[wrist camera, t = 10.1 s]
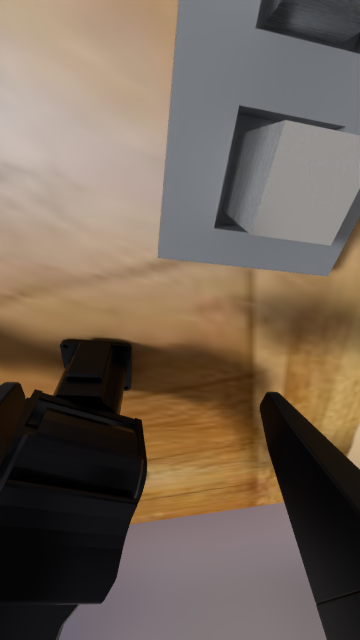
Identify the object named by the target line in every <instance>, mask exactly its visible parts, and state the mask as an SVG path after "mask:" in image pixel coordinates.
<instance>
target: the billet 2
mask: <svg viewBox="0 0 360 640" xmlns="http://www.w3.org/2000/svg"><path fill="white" fill-rule="evenodd" d="M359 189H360V135H355V134H351V133H346V132H341V131H336V130H331V129H327V128H322V127H317V126H312V125H307V124H303V123H298V122H293V121H288V120H284V121H281V122H277V123H274V124H271V125H268V126H264V127H261V128H258V129H255V130H251V131H248V132H245V133H242V134H240V135H239V139H238V144H237V148H236V153H235V157H234V162H233V166H232V170H231V175H230V179H229V184H228V188H227V193H226V197H225V202H224V206H223V211H224V212H225V213H226V214H227V215H228V216H230V217H231V218H232V219H233V220H234V221H235V222H237V223H238V224H239V225H240V226H241V227H242V228H243V229H245V230H246V231H247V232H248V233H249V234H250V235H255V236H263V237H270V238H278V239H285V240H292V241H300V242H307V243H315V244H322V245H329V246H331V244H332V242H333V240H334V238H335V236H336V234H337V232H338V230H339V228H340V227H341V225H342V223H343V221H344V219H345V217H346V215H347V213H348V211H349V209H350V207H351V205H352V203H353V201H354V199H355V197H356V195H357V193H358V191H359Z"/></svg>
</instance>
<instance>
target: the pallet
mask: <svg viewBox="0 0 360 640" xmlns="http://www.w3.org/2000/svg"><path fill="white" fill-rule="evenodd" d="M267 5H268V0H179V3H178V15H177V27H176V39H175V51H174V63H173V76H172V88H171V100H170V112H169V124H168V136H167V148H166V160H165V172H164V184H163V196H162V208H161V221H160V233H159V246H158V258H164V259H174V260H183V261H192V262H201V263H210V264H220V265H229V266H238V267H247V268H256V269H266V270H275V271H284V272H293V273H302V274H312V275H321V276H328V275H329V273H330V272H331V270H332V268H333V266H334V264H335V262H336V260H337V258H338V256H339V255H340V253H341V251H342V249H343V247H344V245H345V243H346V241H347V239H348V238H349V236H350V234H351V232H352V230H353V228H354V226H355V224H356V222H357V220H358V219H359V217H360V189H359V191H358V193H357V195H356V197H355V199H354V201H353V203H352V205H351V207H350V209H349V211H348V213H347V215H346V217H345V219H344V221H343V223H342V225H341V227H340V228H339V230H338V232H337V234H336V236H335V238H334V240H333V242H332V244H331V246H329V245H322V244H315V243H307V242H300V241H292V240H285V239H278V238H270V237H263V236H255V235H250V234H249V233H248V232H247V231H246V230H245V229H243V228H242V227H241V226H240V225H239V224H238V223H237V222H235V221H234V220H233V219H232V218H231V217H230V216H228V215H227V214H226V213H225V212H224V211H223V206H224V202H225V197H226V193H227V188H228V184H229V179H230V175H231V170H232V166H233V162H234V157H235V153H236V148H237V144H238V139H239V135H240V134H242V133H245V132H248V131H251V130H255V129H258V128H261V127H264V126H268V125H271V124H274V123H277V122H281V121H284V120H288V121H293V122H298V123H303V124H307V125H312V126H317V127H322V128H327V129H331V130H336V131H341V132H346V133H351V134H355V135H360V32H359V33H357V34H356V35H354V36H353V37H351V38H350V39H348V40H346V41H345V42H343V43H342V44H340V45H338V44H334V43H330V42H326V41H322V40H318V39H314V38H310V37H306V36H302V35H298V34H294V33H290V32H286V31H282V30H278V29H274V28H270V27H266V26H263V23H264V18H265V14H266V9H267Z"/></svg>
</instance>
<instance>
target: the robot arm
mask: <svg viewBox="0 0 360 640" xmlns="http://www.w3.org/2000/svg"><path fill="white" fill-rule="evenodd" d="M65 344H66V345H68V346H66V345H65ZM60 348H61V353H62V358H63V363H64V368H65V370H64V373H63V375H62V377H61V379H60V381H59V383H58V386H57V388H56V390H55V392H54V394H53V396H52V395H49V394H45V393H42V392H43V391H39V390H36V389H35V390H34V392H33V394H32V395H31V397H30V398H28V397H27V398H26V399H25V395H24V392H23V389H22V387H21V384H20V383H19V382H5V383H3V384H2V385H0V640H59V637H60V634H61V631H62V628H63V626H64V624H65V623H66V621H67V620H68V619H69V618H70V616H71V615H72V614H73V613H74V611H75V610H76V609H77V607H78V606H79V605H80V604H101V603H102V602H103V601H104V600H105V598H106V596H107V594H108V593H109V591H110V589H111V587H112V586H113V584H114V582H115V580H116V577H117V573H118V568H119V563H120V559H121V554H122V550H123V546H124V541H125V538H126V534H127V531H128V528H129V525H130V521H131V519H132V516H133V514H134V512H135V509H136V507H137V504H138V502H139V500H140V498H141V495H142V492H143V489H144V485H145V480H146V473H147V457H146V450H145V442H144V435H143V427H142V420H141V419H137V418H135V419H133V418H129V417H126V416H122V415H120V410H121V404H122V398H123V392H124V391H128V390H130V388H131V362H132V346H131V345H130V344H128V343H113V342H97V341H80V340H63V341H62V342H61V344H60ZM125 348H128V349H125ZM260 413H261V418H262V423H263V428H264V432H265V437H266V442H267V447H268V451H269V454H270V457H271V461H272V464H273V467H274V470H275V474H276V477H277V480H278V483H279V486H280V490H281V493H282V496H283V499H284V503H285V506H286V509H287V512H288V515H289V519H290V522H291V525H292V528H293V532H294V535H295V538H296V541H297V544H298V547H299V550H300V554H301V557H302V560H303V564H304V567H305V570H306V573H307V576H308V580H309V583H310V586H311V589H312V593H313V596H314V599H315V602H316V606H317V609H318V613H319V616H320V619H321V622H322V626H323V629H324V632H325V635H326V638H327V640H360V469H359V468H358V467H356V466H355V465H354V464H353V463H352V462H351V461H350V460H349V459H348V458H347V457H346V456H345V455H344V454H343V453H342V452H341V451H340V450H339V449H338V448H336V447H335V446H334V445H333V444H332V443H331V442H330V441H329V440H328V439H327V438H326V437H325V436H324V435H323V434H322V433H321V432H320V431H319V430H317V429H316V428H315V427H314V426H313V425H312V424H311V423H310V422H309V421H308V420H307V419H306V418H305V417H304V416H303V415H302V414H301V413H300V412H299V411H297V410H296V409H295V408H294V407H293V406H292V405H291V404H290V403H289V402H288V401H287V400H286V399H285V398H284V397H283V396H282V395H281V394H279V393H278V392H267V393H266V394H265V396H264V398H263V400H262V402H261V404H260Z"/></svg>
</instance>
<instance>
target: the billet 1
mask: <svg viewBox="0 0 360 640" xmlns="http://www.w3.org/2000/svg"><path fill="white" fill-rule="evenodd" d="M263 26H266V27H270V28H274V29H278V30H282V31H286V32H290V33H294V34H298V35H302V36H306V37H310V38H314V39H318V40H322V41H326V42H330V43H334V44H338V45H340V44H342V43H343V42H345V41H346V40H348V39H350V38H351V37H353V36H354V35H356V34H357V33H359V32H360V0H268V5H267V9H266V14H265V18H264V23H263Z"/></svg>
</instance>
